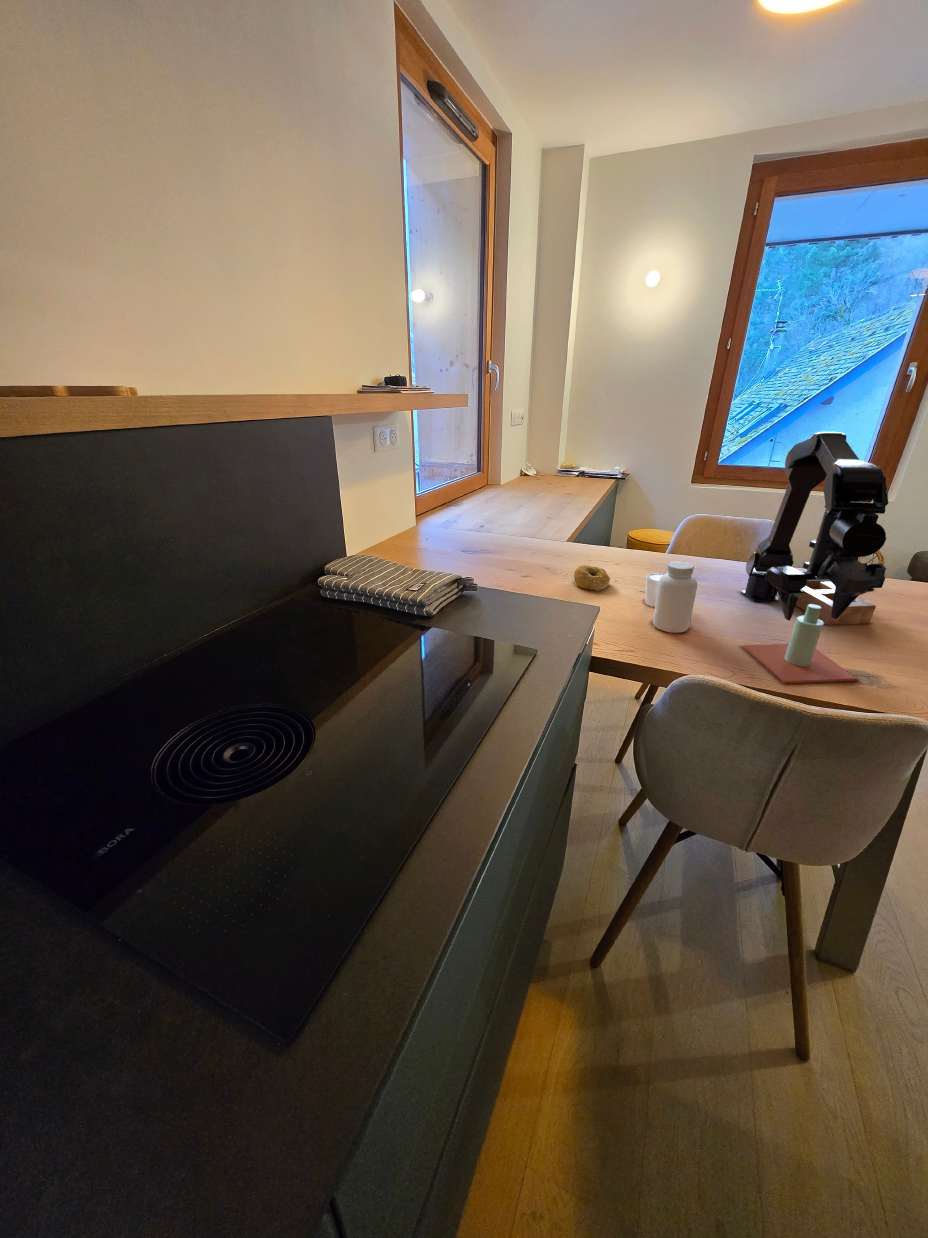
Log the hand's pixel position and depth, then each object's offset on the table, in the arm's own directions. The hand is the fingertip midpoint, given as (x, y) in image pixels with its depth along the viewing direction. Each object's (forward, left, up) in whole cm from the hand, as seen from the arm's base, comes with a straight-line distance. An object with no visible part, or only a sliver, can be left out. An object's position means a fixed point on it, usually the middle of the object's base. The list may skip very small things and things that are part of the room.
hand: (810, 618), depth 94 cm
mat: (0, 0, -10) cm, 10 cm away
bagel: (-29, +45, -10) cm, 55 cm away
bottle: (0, 0, -9) cm, 9 cm away
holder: (+23, +25, -10) cm, 35 cm away
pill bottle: (-18, +18, -10) cm, 27 cm away
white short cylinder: (-16, +31, -10) cm, 36 cm away
